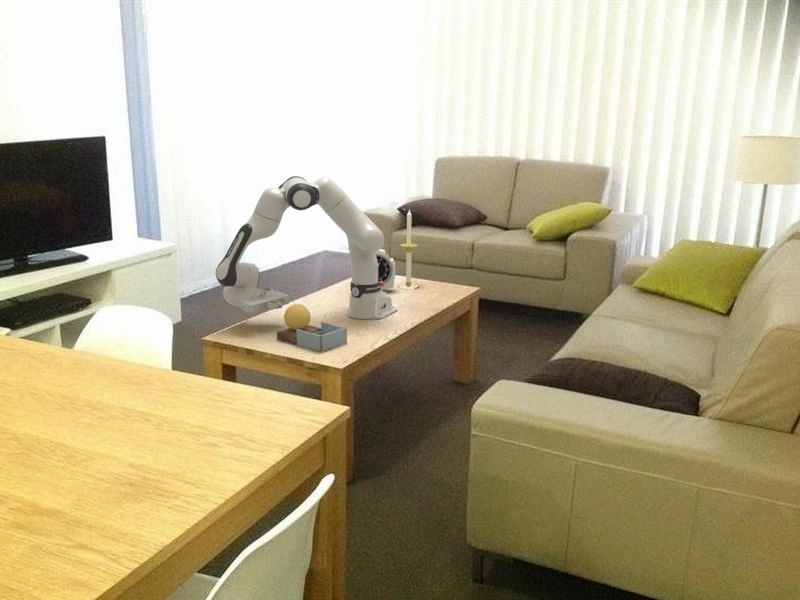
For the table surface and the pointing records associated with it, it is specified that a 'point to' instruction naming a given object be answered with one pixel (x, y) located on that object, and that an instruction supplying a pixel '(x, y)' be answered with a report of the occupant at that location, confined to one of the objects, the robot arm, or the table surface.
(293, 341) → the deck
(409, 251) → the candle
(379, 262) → the alarm clock
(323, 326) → the tray
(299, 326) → the ball
